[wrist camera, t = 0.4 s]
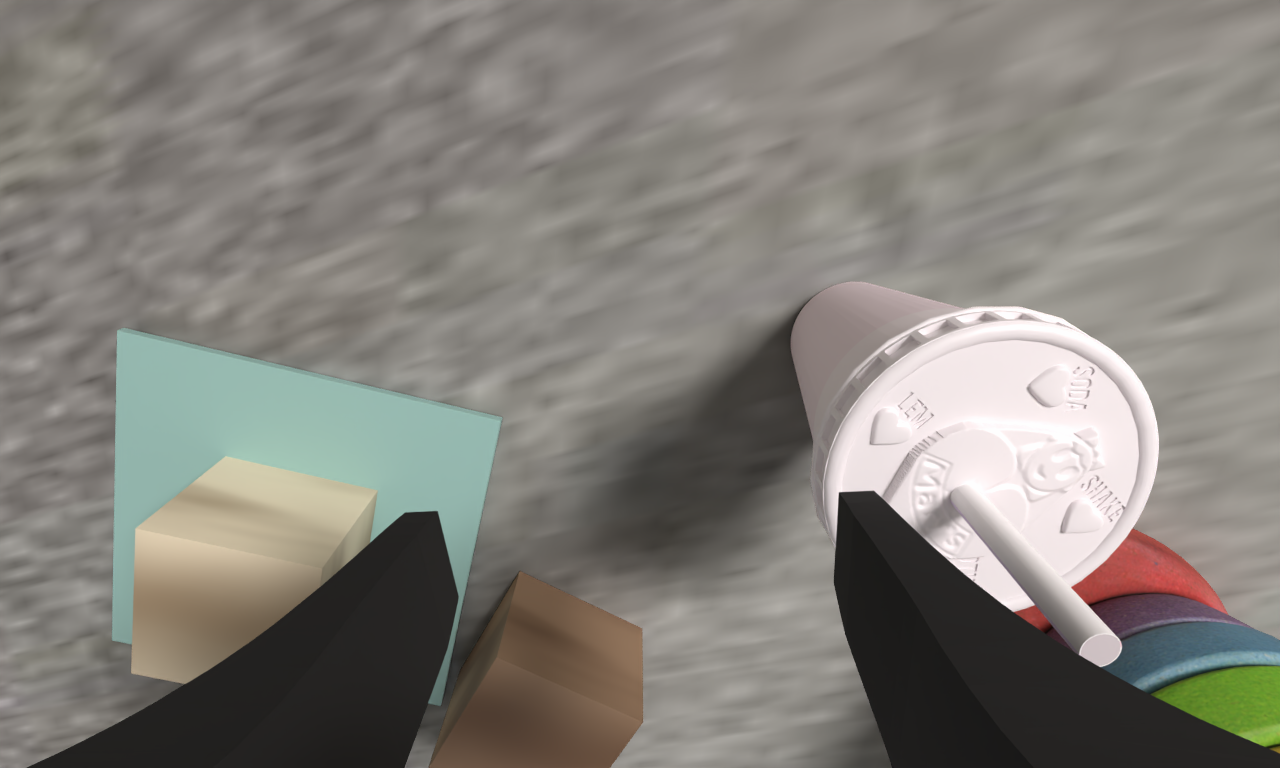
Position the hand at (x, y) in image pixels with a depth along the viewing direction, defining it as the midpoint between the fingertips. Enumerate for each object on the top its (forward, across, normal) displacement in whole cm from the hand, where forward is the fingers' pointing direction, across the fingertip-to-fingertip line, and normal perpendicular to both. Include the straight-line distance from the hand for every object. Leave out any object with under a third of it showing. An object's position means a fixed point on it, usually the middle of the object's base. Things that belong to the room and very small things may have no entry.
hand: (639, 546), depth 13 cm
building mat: (+9, +13, +6) cm, 17 cm away
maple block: (+9, +13, +6) cm, 17 cm away
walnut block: (+9, +4, +12) cm, 16 cm away
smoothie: (+11, -6, +1) cm, 13 cm away
